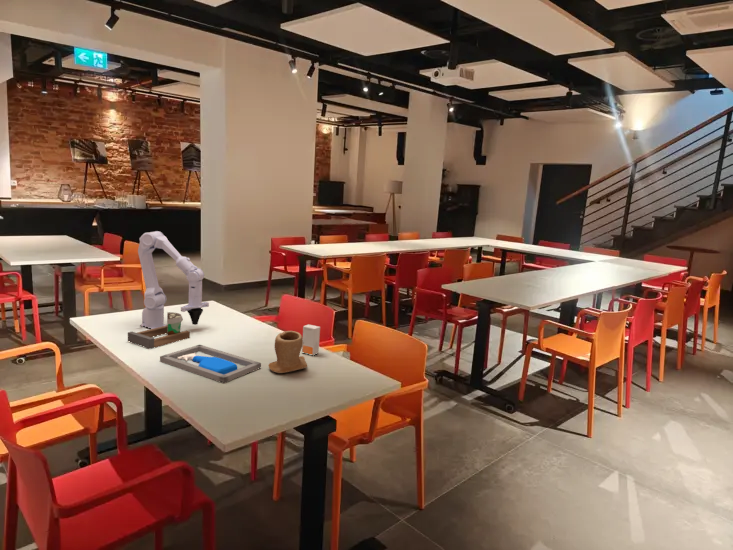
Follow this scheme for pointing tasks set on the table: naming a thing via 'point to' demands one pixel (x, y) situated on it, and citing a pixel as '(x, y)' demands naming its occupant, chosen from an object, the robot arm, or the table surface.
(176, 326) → the food container
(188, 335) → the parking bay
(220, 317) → the table surface
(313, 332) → the skincare box
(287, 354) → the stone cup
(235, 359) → the rim
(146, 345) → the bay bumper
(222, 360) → the spray bottle
